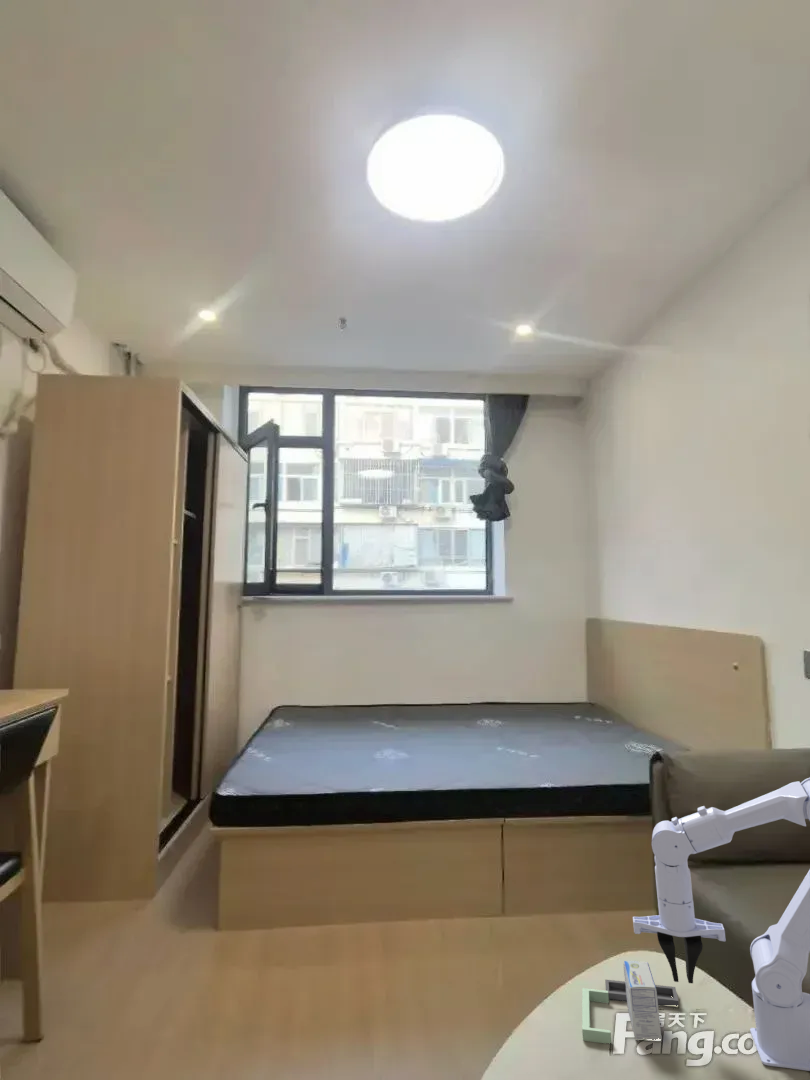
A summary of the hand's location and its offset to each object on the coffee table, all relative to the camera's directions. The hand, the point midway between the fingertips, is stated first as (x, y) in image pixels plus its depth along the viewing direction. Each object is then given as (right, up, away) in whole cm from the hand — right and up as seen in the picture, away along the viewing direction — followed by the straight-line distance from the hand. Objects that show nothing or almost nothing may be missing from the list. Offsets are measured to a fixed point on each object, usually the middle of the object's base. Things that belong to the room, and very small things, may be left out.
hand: (682, 979), depth 106 cm
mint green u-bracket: (-14, -10, +3) cm, 17 cm away
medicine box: (-6, -9, +1) cm, 11 cm away
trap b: (-7, -10, +10) cm, 16 cm away
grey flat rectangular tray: (0, -9, +8) cm, 12 cm away
